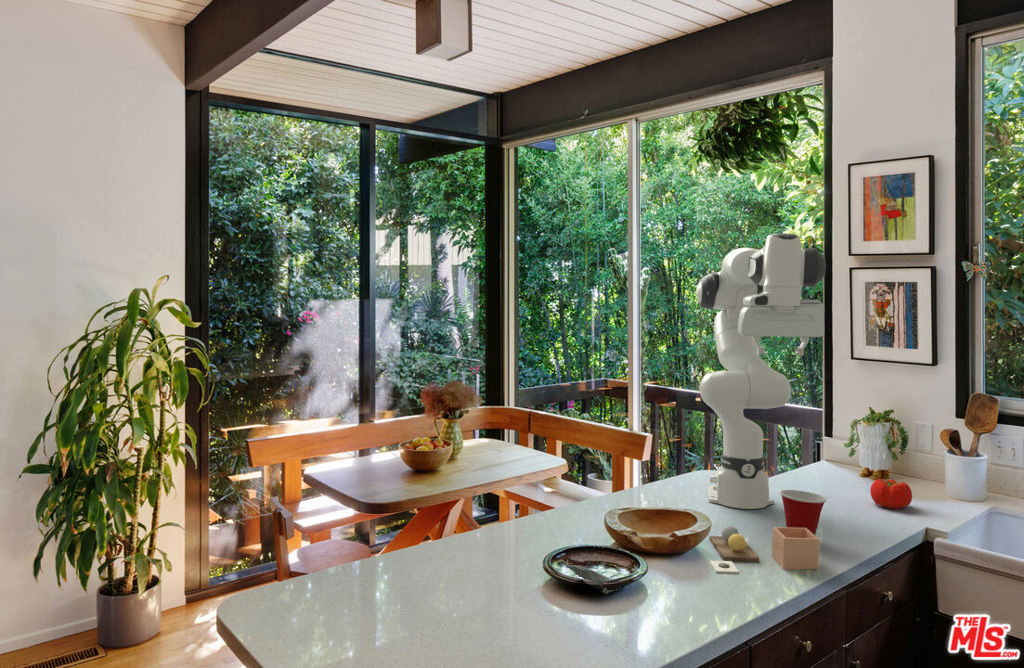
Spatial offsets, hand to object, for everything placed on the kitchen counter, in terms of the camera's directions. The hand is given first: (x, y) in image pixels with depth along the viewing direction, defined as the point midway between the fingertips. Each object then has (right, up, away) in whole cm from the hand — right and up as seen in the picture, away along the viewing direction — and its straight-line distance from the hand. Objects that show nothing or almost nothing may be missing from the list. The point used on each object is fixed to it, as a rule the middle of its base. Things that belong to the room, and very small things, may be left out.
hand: (779, 355), depth 176 cm
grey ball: (-13, -44, -3) cm, 45 cm away
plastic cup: (+6, -47, +2) cm, 47 cm away
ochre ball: (-13, -44, -9) cm, 47 cm away
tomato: (+44, -45, +32) cm, 71 cm away
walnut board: (-13, -47, -5) cm, 49 cm away
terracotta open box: (-1, -47, -13) cm, 49 cm away
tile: (-19, -47, -16) cm, 53 cm away
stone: (-48, -48, -27) cm, 73 cm away
